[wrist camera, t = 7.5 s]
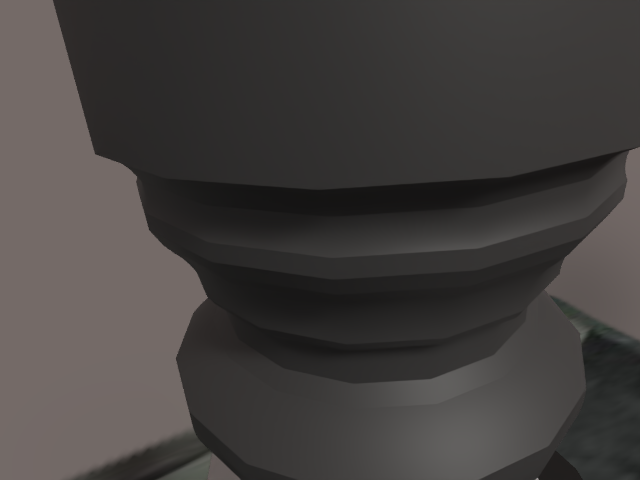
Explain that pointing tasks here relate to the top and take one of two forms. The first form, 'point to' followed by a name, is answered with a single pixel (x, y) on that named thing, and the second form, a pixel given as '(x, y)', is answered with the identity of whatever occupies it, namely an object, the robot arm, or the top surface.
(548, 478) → the robot arm
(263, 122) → the candle holder
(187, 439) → the top surface
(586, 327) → the top surface
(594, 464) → the top surface
